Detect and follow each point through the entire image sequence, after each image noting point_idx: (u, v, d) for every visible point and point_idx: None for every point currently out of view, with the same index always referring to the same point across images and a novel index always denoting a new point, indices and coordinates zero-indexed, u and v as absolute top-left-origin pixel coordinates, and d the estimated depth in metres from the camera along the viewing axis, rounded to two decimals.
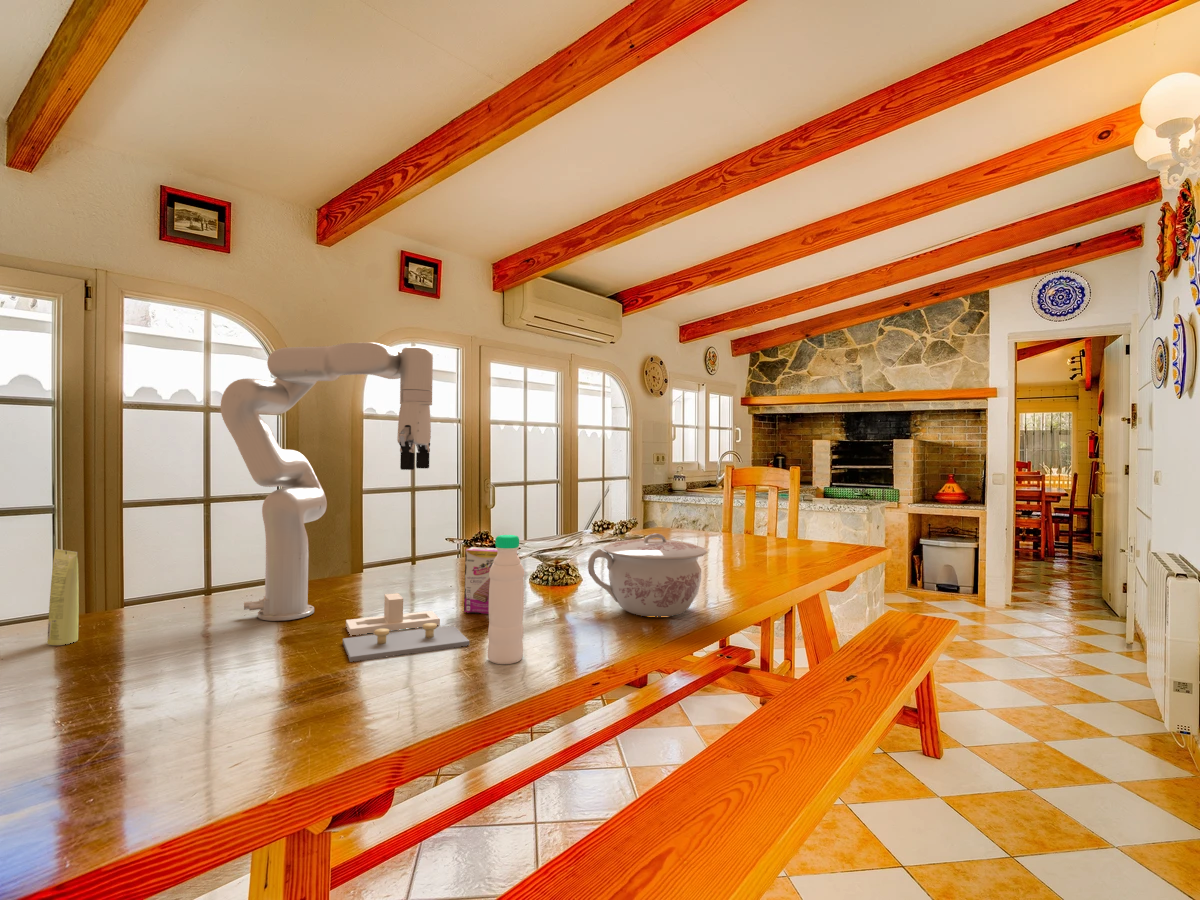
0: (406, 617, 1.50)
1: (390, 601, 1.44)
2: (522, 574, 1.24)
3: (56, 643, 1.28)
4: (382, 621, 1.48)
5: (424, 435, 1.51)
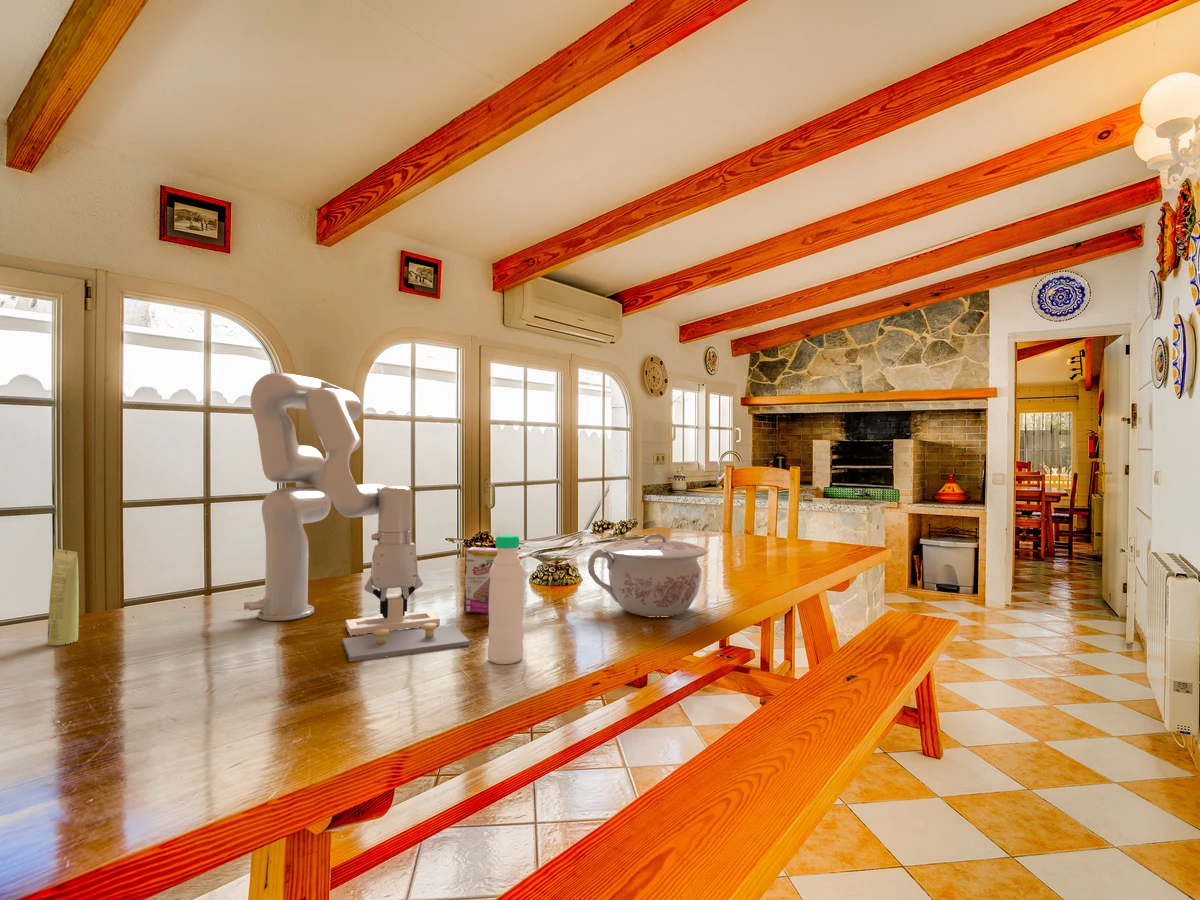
0: (406, 617, 1.50)
1: (390, 601, 1.44)
2: (522, 574, 1.24)
3: (56, 643, 1.28)
4: (382, 621, 1.48)
5: None
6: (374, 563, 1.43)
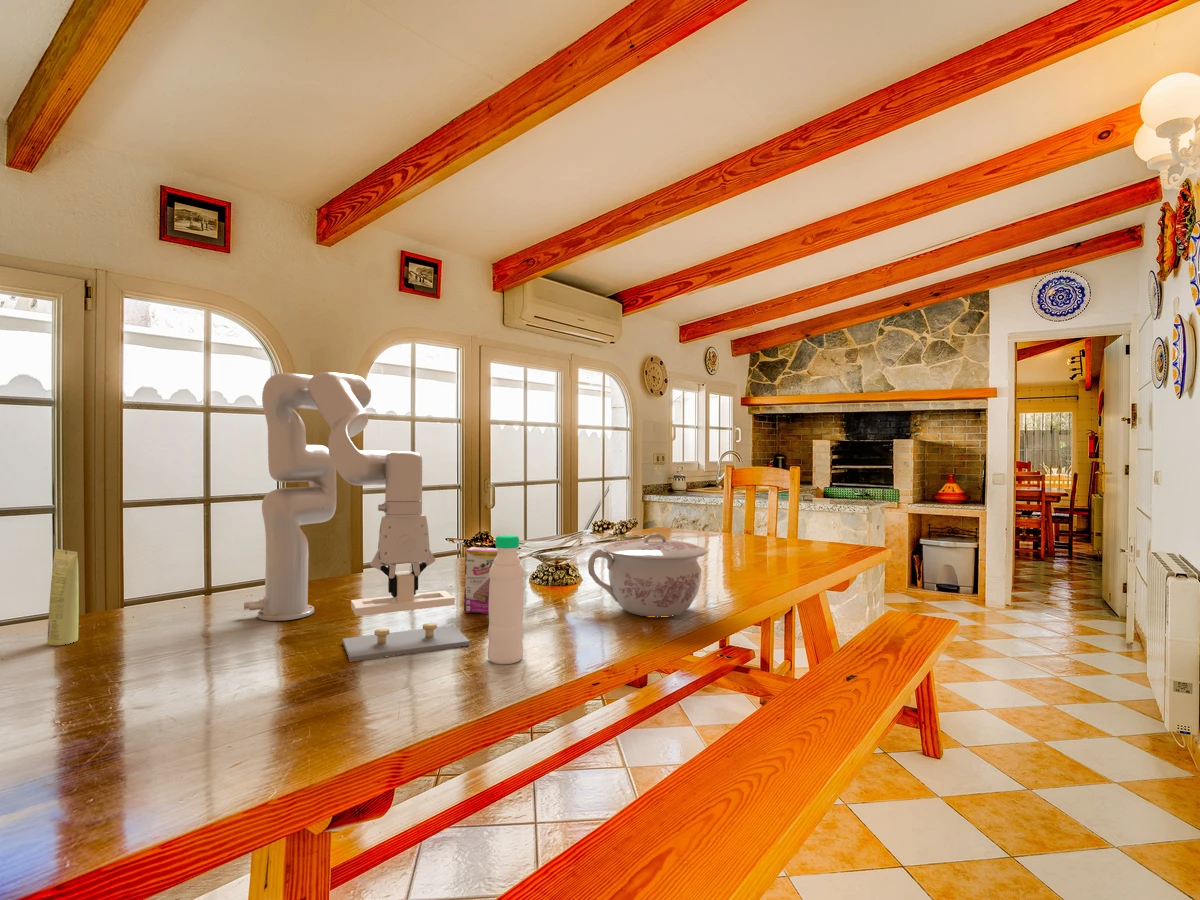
0: (417, 597, 1.36)
1: (400, 578, 1.30)
2: (522, 574, 1.24)
3: (56, 643, 1.28)
4: (391, 601, 1.34)
5: None
6: (381, 536, 1.29)
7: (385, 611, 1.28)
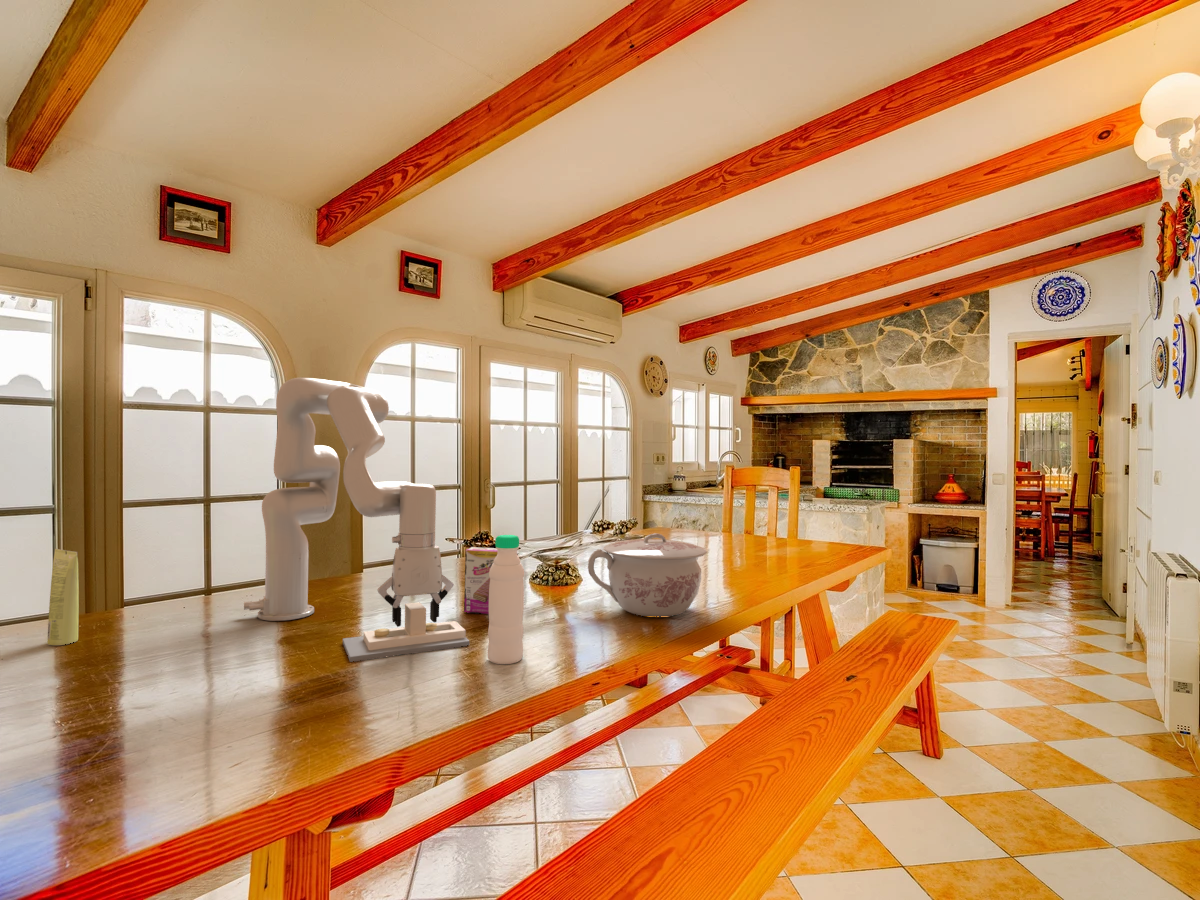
0: None
1: (412, 611, 1.32)
2: (522, 574, 1.24)
3: (56, 643, 1.28)
4: (402, 633, 1.36)
5: None
6: (395, 568, 1.31)
7: (398, 644, 1.29)
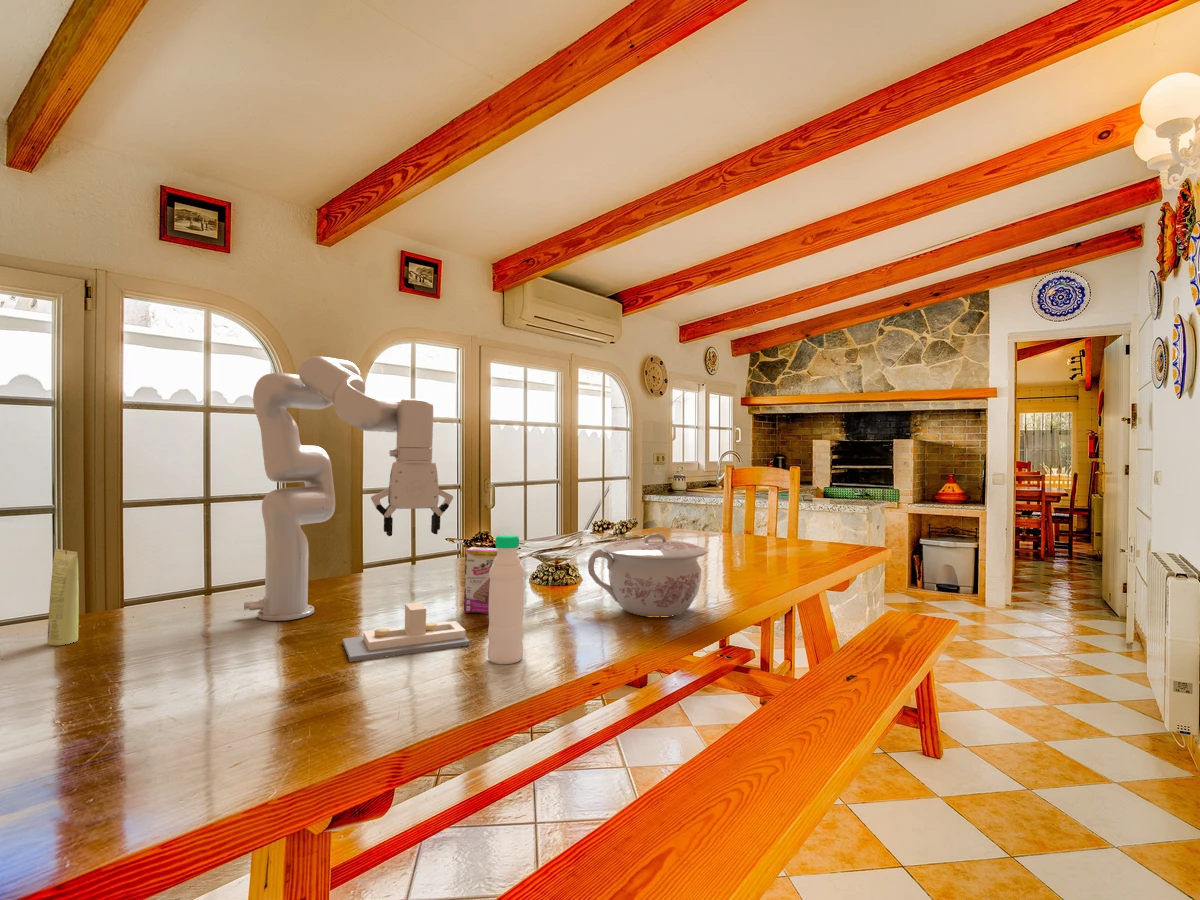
0: None
1: (412, 611, 1.32)
2: (522, 574, 1.24)
3: (56, 643, 1.28)
4: (402, 633, 1.36)
5: None
6: (392, 480, 1.32)
7: (398, 644, 1.29)
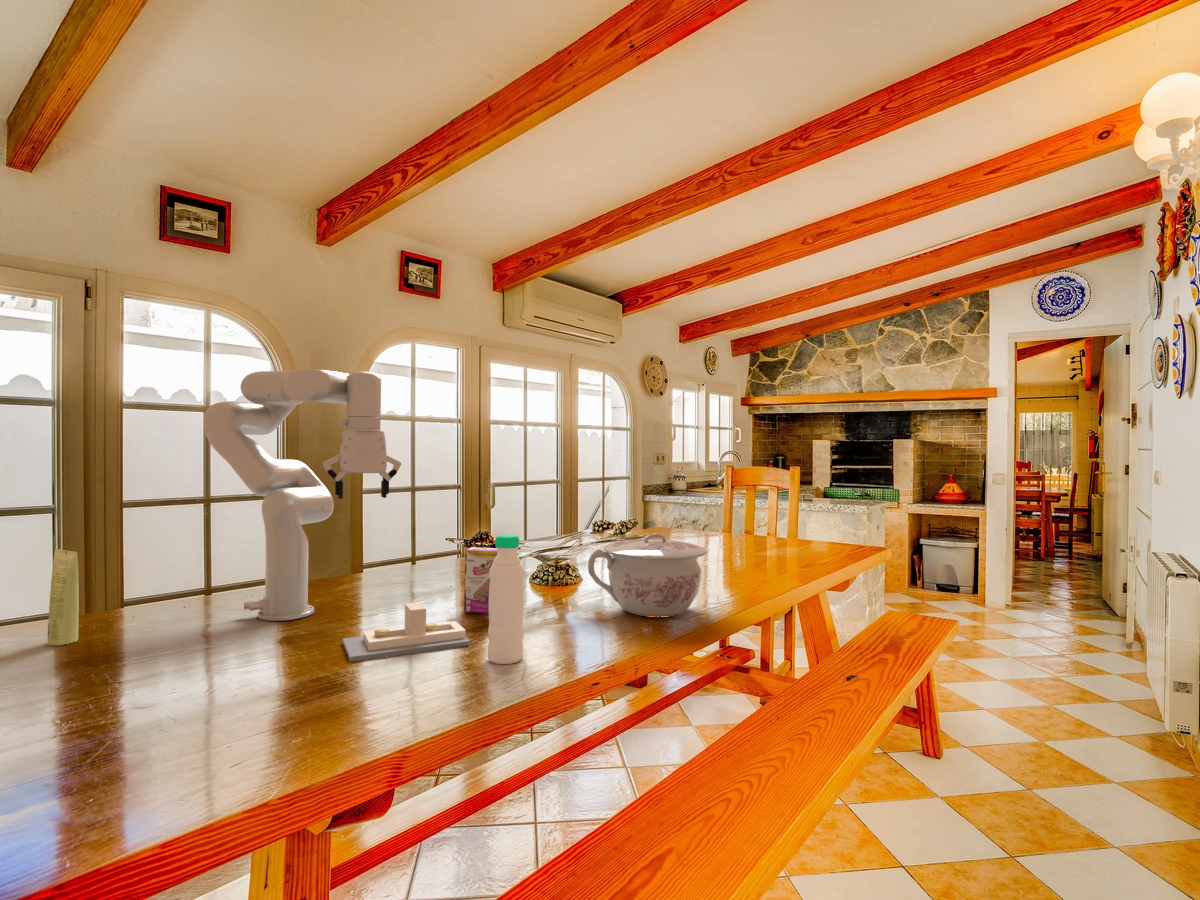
0: None
1: (412, 611, 1.32)
2: (522, 574, 1.24)
3: (56, 643, 1.28)
4: (402, 633, 1.36)
5: None
6: (342, 447, 1.42)
7: (398, 644, 1.29)
